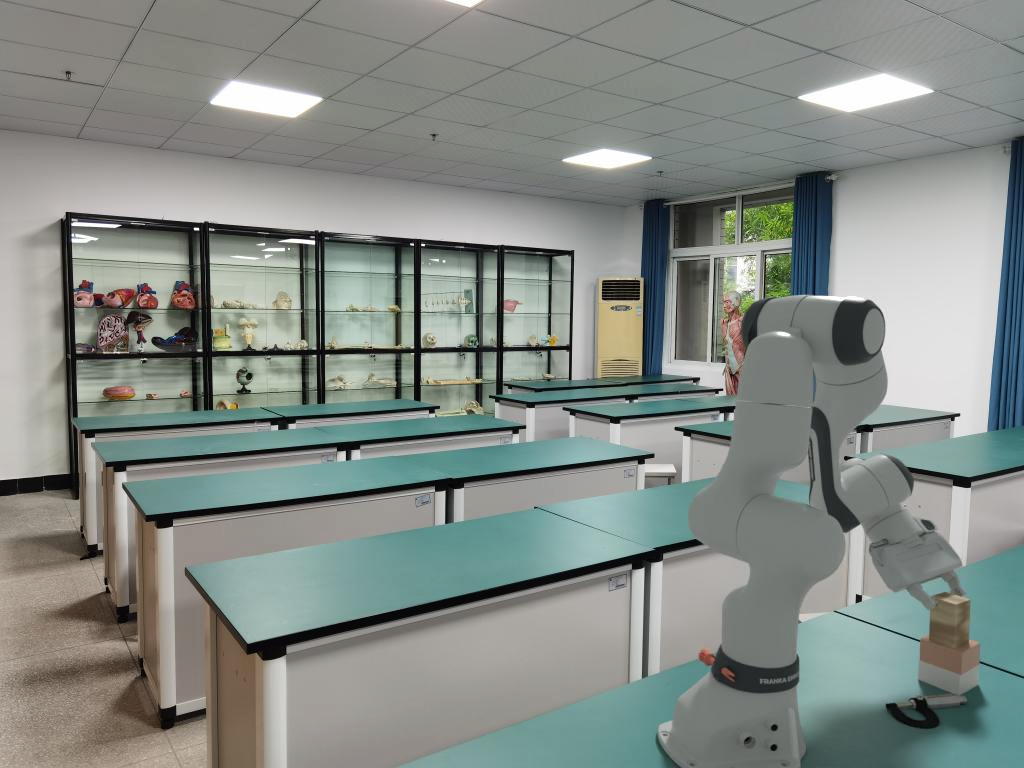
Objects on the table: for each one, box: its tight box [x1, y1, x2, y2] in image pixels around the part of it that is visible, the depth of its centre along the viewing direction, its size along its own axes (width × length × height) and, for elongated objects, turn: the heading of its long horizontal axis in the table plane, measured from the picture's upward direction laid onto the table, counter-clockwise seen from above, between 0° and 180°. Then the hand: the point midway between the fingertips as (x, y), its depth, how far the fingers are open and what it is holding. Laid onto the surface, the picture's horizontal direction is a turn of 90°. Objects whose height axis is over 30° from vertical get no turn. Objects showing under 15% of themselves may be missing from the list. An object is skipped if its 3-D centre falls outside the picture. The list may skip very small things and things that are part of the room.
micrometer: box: [885, 693, 968, 730], centre depth 119 cm, size 15×7×2 cm, turn 99°
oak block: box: [928, 591, 972, 649], centre depth 129 cm, size 4×4×8 cm
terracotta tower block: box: [919, 634, 981, 675], centre depth 129 cm, size 7×7×4 cm
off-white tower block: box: [917, 658, 980, 696], centre depth 130 cm, size 7×7×4 cm
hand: (948, 602), depth 129 cm, fingers open, 8 cm apart
